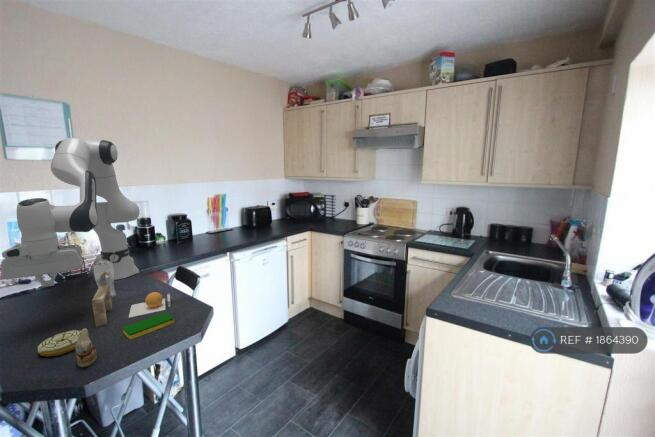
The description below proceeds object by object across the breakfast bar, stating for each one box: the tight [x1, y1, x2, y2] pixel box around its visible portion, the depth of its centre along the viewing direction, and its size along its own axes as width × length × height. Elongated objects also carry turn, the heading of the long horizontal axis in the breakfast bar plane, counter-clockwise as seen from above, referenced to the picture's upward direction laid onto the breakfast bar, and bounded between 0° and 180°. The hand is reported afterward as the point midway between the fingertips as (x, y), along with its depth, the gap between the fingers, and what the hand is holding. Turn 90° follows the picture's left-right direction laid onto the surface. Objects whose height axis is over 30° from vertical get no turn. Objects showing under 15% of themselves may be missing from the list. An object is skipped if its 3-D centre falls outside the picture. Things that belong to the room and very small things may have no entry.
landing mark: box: [128, 298, 166, 319], centre depth 117 cm, size 12×12×1 cm
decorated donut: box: [37, 329, 82, 357], centre depth 91 cm, size 10×11×4 cm
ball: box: [144, 291, 164, 308], centre depth 117 cm, size 6×6×6 cm
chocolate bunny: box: [74, 327, 98, 368], centre depth 84 cm, size 6×8×10 cm
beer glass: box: [92, 261, 117, 298], centre depth 128 cm, size 7×7×15 cm
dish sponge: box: [122, 312, 175, 340], centre depth 102 cm, size 7×14×2 cm, turn 139°
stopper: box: [166, 293, 172, 308], centre depth 121 cm, size 8×1×2 cm, turn 29°
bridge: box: [91, 285, 113, 327], centre depth 110 cm, size 3×15×10 cm, turn 29°
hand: (48, 286), depth 101 cm, fingers closed
